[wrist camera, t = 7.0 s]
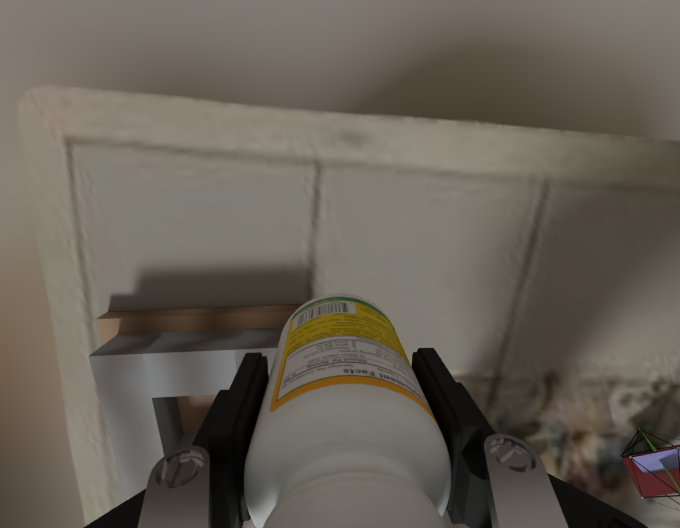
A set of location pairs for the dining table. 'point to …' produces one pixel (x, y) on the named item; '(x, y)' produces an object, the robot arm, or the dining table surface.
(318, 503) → the supplement bottle
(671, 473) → the geometric puzzle
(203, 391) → the holder
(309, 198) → the dining table surface
